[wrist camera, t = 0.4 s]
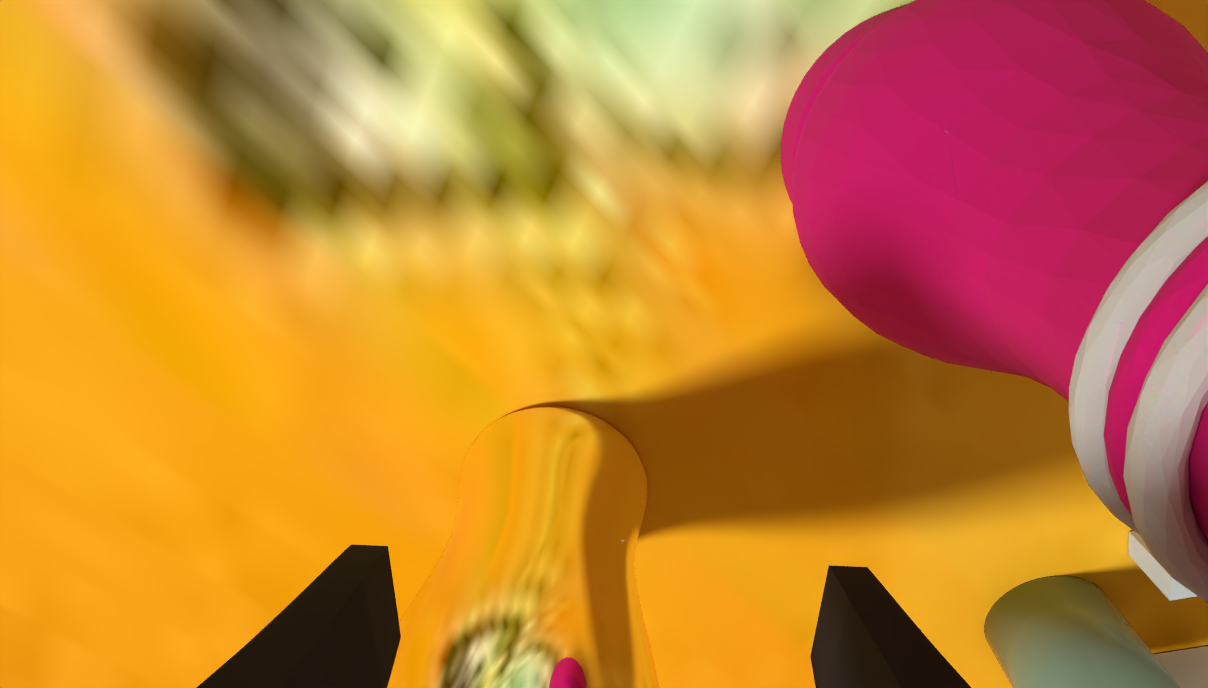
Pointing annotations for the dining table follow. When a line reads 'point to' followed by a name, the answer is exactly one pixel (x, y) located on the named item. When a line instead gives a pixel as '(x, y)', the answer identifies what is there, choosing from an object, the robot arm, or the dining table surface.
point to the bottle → (1069, 639)
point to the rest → (1195, 670)
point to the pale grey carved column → (536, 565)
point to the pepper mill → (1031, 222)
